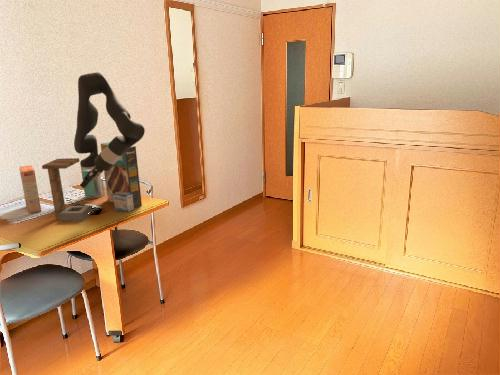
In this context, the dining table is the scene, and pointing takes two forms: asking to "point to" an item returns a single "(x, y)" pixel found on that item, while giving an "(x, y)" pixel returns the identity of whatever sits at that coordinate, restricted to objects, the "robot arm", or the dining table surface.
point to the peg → (89, 187)
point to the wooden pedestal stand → (58, 181)
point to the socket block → (75, 213)
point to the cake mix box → (124, 176)
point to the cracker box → (30, 189)
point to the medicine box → (123, 201)
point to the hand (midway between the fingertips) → (84, 184)
